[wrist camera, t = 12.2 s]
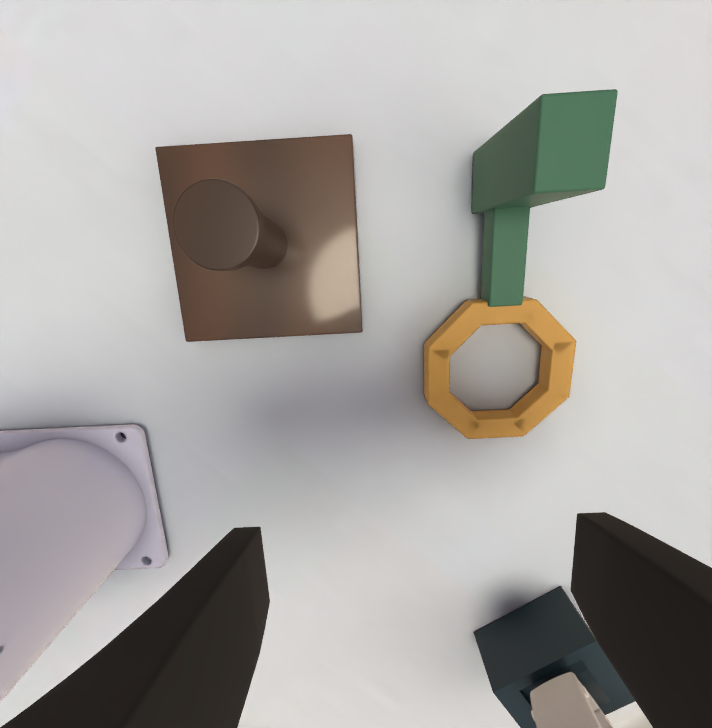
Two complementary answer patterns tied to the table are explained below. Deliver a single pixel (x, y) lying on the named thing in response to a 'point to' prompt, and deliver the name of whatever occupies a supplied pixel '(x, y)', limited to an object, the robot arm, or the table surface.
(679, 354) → the table surface
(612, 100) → the octagonal ring with handle
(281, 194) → the peg stand
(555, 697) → the bust statue
